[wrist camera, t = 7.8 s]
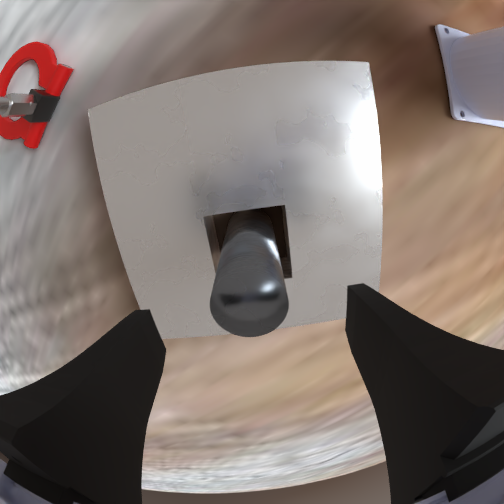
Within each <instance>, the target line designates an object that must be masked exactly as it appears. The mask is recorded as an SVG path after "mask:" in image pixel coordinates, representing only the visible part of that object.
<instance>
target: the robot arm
mask: <svg viewBox="0 0 504 504" xmlns="http://www.w3.org/2000/svg"><path fill="white" fill-rule="evenodd" d="M435 31H436V34H437V38H438V42H439V46H440V50H441V54H442V59H443V64H444V69H445V74H446V80H447V86H448V93H449V100H450V109H451V115H452V117H453V118H454V119H455V120H461V121H468V122H475V123H481V124H487V125H492V126H497V127H502V128H504V27H500V28H495V29H491V30H487V31H483V32H479V33H475V34H472V35H470V34H468V33H465V32H462V31H459V30H457V29H454V28H451V27H448V26H444V25H441V24H438V25H436V26H435ZM445 31H446V32H445ZM460 112H461V114H462V116H461V115H460ZM345 331H346V334H347V338H348V342H349V345H350V349H351V352H352V355H353V357H354V359H355V362H356V364H357V366H358V369H359V371H360V374H361V376H362V378H363V381H364V383H365V385H366V388H367V390H368V392H369V395H370V397H371V400H372V403H373V406H374V408H375V412H376V416H377V419H378V423H379V427H380V431H381V436H382V441H383V445H384V450H385V456H386V462H387V468H388V475H389V483H390V493H391V504H504V350H500V349H496V348H492V347H488V346H484V345H481V344H478V343H475V342H472V341H469V340H466V339H463V338H460V337H458V336H455V335H453V334H450V333H448V332H446V331H444V330H442V329H440V328H437V327H435V326H433V325H431V324H429V323H427V322H426V321H424V320H422V319H420V318H418V317H417V316H415V315H413V314H411V313H410V312H408V311H406V310H405V309H403V308H402V307H400V306H398V305H397V304H395V303H394V302H392V301H391V300H389V299H388V298H386V297H385V296H383V295H382V294H380V293H379V292H377V291H376V290H374V289H372V288H371V287H369V286H368V285H366V284H364V283H360V284H354V285H348V286H347V309H346V328H345ZM165 355H166V348H165V346H164V343H163V341H162V339H161V336H160V334H159V331H158V329H157V327H156V324H155V322H154V319H153V317H152V314H151V311H150V309H145V310H135V311H134V312H132V313H131V314H129V315H128V316H127V317H125V318H124V319H123V320H122V321H120V322H119V323H118V324H117V325H116V326H114V327H113V328H112V329H111V330H110V331H108V332H107V333H106V334H105V335H104V336H102V337H101V338H100V339H99V340H98V341H96V342H95V343H94V344H93V345H91V346H90V347H89V348H87V349H86V350H85V351H84V352H82V353H81V354H80V355H79V356H77V357H76V358H74V359H73V360H72V361H70V362H69V363H67V364H66V365H64V366H63V367H61V368H59V369H58V370H56V371H55V372H53V373H51V374H49V375H47V376H45V377H44V378H42V379H40V380H38V381H36V382H34V383H32V384H30V385H28V386H25V387H23V388H21V389H18V390H16V391H13V392H10V393H7V394H4V395H1V396H0V451H1V452H2V453H3V454H4V455H5V456H6V457H7V458H8V459H9V461H8V463H7V464H6V463H5V462H3V461H2V460H1V459H0V504H142V494H141V479H142V460H143V449H144V442H145V435H146V428H147V424H148V419H149V416H150V412H151V409H152V406H153V402H154V399H155V396H156V393H157V389H158V386H159V383H160V379H161V376H162V373H163V367H164V362H165Z"/></svg>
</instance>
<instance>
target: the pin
mask: <svg viewBox="0 0 504 504" xmlns="http://www.w3.org/2000/svg"><path fill="white" fill-rule="evenodd" d="M288 309H289V300H288V295H287V290H286V285H285V280H284V276H283V271H282V266H281V262H280V257H279V252H278V248H277V243H276V239H275V234H274V230H273V225H272V222H271V220H270V218H269V216H268V215H267V214H266V213H265V212H263V211H262V210H260V209H249V210H242V211H237V212H236V213H234V214H233V216H232V217H231V218H230V220H229V223H228V227H227V231H226V235H225V239H224V243H223V247H222V251H221V255H220V259H219V263H218V267H217V271H216V276H215V280H214V284H213V288H212V293H211V297H210V311H211V314H212V316H213V318H214V320H215V321H216V323H217V324H218V325H219V326H220V327H222V328H223V329H224V330H226V331H228V332H229V333H232V334H234V335H238V336H243V337H256V336H261V335H264V334H267V333H269V332H271V331H273V330H275V329H276V328H277V327H278V326H279V325H280V324H281V323H282V322H283V321H284V319H285V318H286V316H287V313H288Z"/></svg>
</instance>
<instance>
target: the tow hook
mask: <svg viewBox="0 0 504 504" xmlns="http://www.w3.org/2000/svg"><path fill="white" fill-rule="evenodd" d="M32 59H33V60H34V61H35V62H36V63H37V65H38V68H39V86H41V87H43V88H44V89H46V90H37V89H31V90H30V93H29V95H28V94H15V93H11V94H8V95H6V91H7V87H8V84H9V82H10V79H11V78H12V76H13V74H14V72H15V71H16V70H17V69H18V67H19V66H21V65H22V64H23V63H24V62H26V61H28V60H32ZM72 72H73V69H72V68H71V67H69V66H67V65H64V64H58V65H57V59H56V56H55V53H54V50H53V49H52V48H51V47H50V46H49V45H47V44H44V43H40V42H32V43H28V44H26V45H25V46H23V47H21V48H20V49H19V50H18V51H16V52H15V53H14V54H13V55H12V57H11V58H10V59H9V60H8V62H7V63H6V64H5V66H4V68H3V70H2V71H1V73H0V135H1V136H2V137H3V138H5V139H11V140H13V139H18V138H22V139H24V140H25V141H24V145H25V146H26V147H29V148H38V145H39V143H40V140H41V137H42V135H43V132H44V130H45V127H46V125H47V123H48V122H49V121H50V119H51V116H52V114H53V112H54V110H55V107H56V105H57V103H58V101H59V99H60V94H61V92H62V90H63V88H64V86H65V84H66V83H67V81H68V79H69V77H70V75H71V73H72ZM19 116H21V118H20V119H19V120H17V121H13V120H11V119H10V118H9V117H19Z"/></svg>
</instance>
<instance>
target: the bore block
mask: <svg viewBox="0 0 504 504" xmlns="http://www.w3.org/2000/svg"><path fill="white" fill-rule="evenodd" d="M88 116H89V123H90V129H91V135H92V141H93V147H94V152H95V157H96V163H97V167H98V172H99V177H100V181H101V185H102V190H103V194H104V198H105V202H106V206H107V210H108V213H109V217H110V221H111V224H112V228H113V231H114V235H115V238H116V241H117V244H118V248H119V251H120V254H121V257H122V260H123V263H124V266H125V269H126V272H127V275H128V278H129V280H130V283H131V286H132V289H133V291H134V294H135V297H136V299H137V302H138V305H139V307H140V310H145V309H150V311H151V314H152V317H153V319H154V322H155V324H156V327H157V329H158V331H159V334H160V336H161V339H168V338H186V337H201V336H214V335H225V334H232V333H229V332H228V331H226V330H224V329H223V328H222V327H220V326H219V325H218V324H217V323H216V321H215V320H214V318H213V316H212V314H211V311H210V297H211V293H212V288H213V284H214V280H215V276H216V271H217V267H218V263H219V259H220V255H221V253H220V248H219V243H218V239H217V234H216V228H215V223H214V218H213V215H216V214H222V213H229V212H236V211H242V210H249V209H257V208H264V207H271V206H279V205H281V207H282V216H283V224H284V233H285V243H286V252H287V257H283V258H280V262H281V266H282V271H283V276H284V280H285V285H286V290H287V295H288V300H289V309H288V313H287V316H286V318H285V319H284V321H283V322H282V323H281V324H280V325H279V326H278V327H277V328H276V329H279V328H287V327H294V326H301V325H308V324H314V323H320V322H327V321H333V320H338V319H344V318H346V309H347V286H348V285H354V284H360V283H364V284H366V285H368V286H369V287H371V288H372V289H374V290H376V291H377V292H379V283H380V270H381V252H382V171H381V154H380V141H379V130H378V120H377V112H376V104H375V97H374V90H373V84H372V78H371V72H370V66H369V62H358V61H300V62H284V63H272V64H262V65H253V66H246V67H238V68H232V69H226V70H220V71H215V72H209V73H204V74H200V75H195V76H190V77H186V78H182V79H178V80H174V81H170V82H166V83H163V84H159V85H156V86H152V87H149V88H145V89H142V90H139V91H136V92H133V93H130V94H127V95H124V96H121V97H118V98H116V99H113V100H110V101H108V102H105V103H102V104H100V105H97V106H95V107H93V108H90V109H88Z"/></svg>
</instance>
